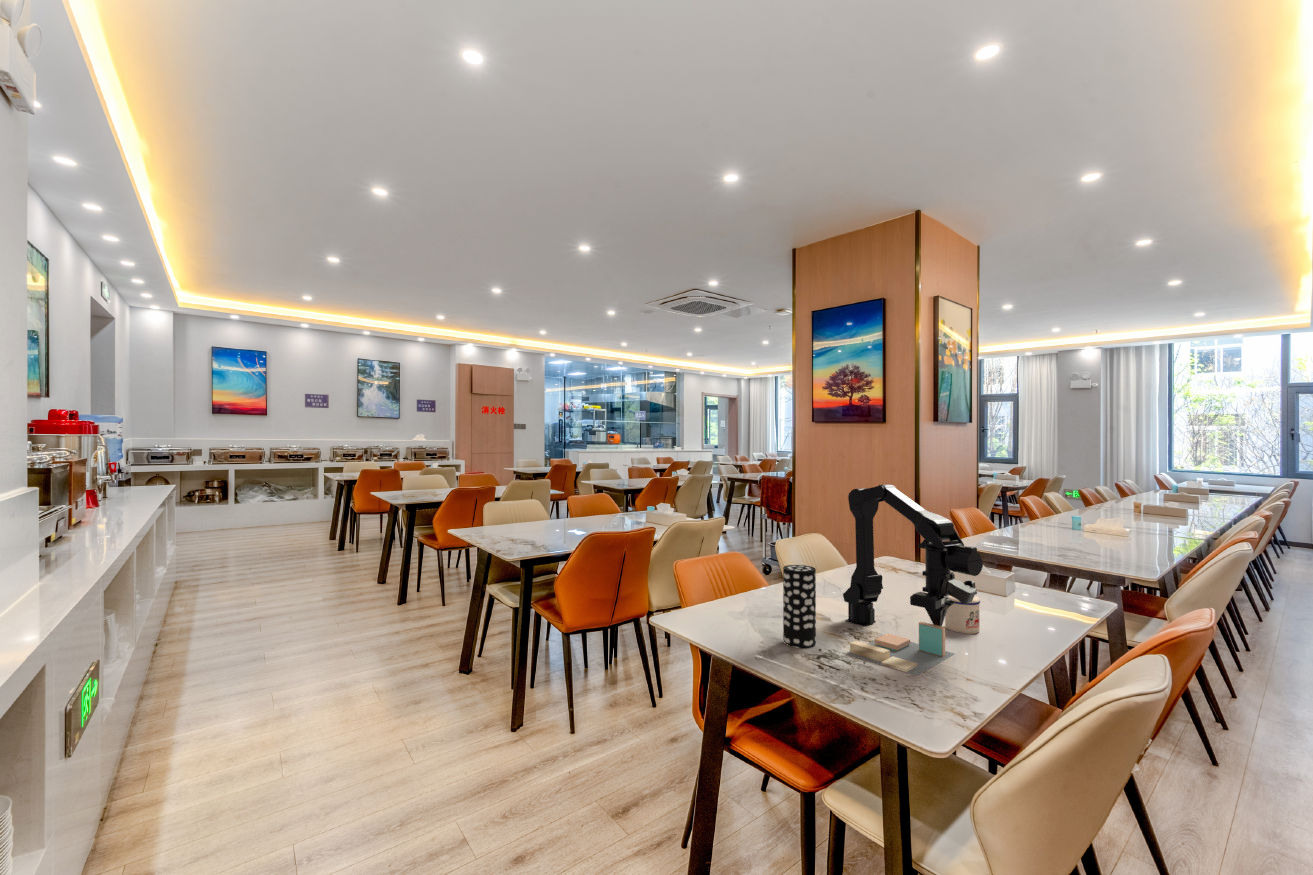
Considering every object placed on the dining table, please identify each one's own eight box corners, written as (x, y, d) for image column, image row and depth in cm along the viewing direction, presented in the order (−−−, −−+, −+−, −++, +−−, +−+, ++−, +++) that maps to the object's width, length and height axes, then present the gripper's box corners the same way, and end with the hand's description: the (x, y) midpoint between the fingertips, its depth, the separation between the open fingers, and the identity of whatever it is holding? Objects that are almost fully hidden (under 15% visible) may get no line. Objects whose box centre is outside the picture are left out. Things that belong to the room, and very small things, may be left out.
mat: (844, 655, 142) (844, 653, 142) (886, 636, 155) (886, 635, 155) (916, 677, 128) (916, 675, 128) (955, 655, 142) (955, 653, 142)
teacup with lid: (972, 636, 155) (971, 594, 155) (938, 628, 162) (938, 587, 163) (990, 628, 163) (989, 587, 163) (957, 620, 170) (957, 581, 170)
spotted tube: (818, 641, 151) (818, 566, 152) (813, 651, 144) (812, 572, 144) (787, 637, 155) (786, 563, 155) (780, 646, 147) (780, 569, 148)
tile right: (918, 650, 144) (917, 622, 144) (920, 649, 145) (920, 621, 145) (942, 657, 139) (942, 628, 139) (945, 655, 140) (945, 627, 140)
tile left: (888, 639, 152) (874, 645, 147) (888, 633, 152) (874, 639, 147) (910, 645, 147) (897, 651, 143) (910, 639, 147) (897, 645, 143)
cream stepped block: (847, 653, 141) (846, 644, 141) (858, 648, 145) (858, 639, 145) (906, 672, 130) (906, 661, 130) (917, 665, 134) (917, 655, 134)
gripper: (956, 579, 133) (956, 646, 132) (986, 567, 145) (986, 629, 144) (908, 571, 141) (909, 634, 141) (940, 561, 153) (941, 619, 153)
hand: (938, 629), depth 144 cm, fingers closed
